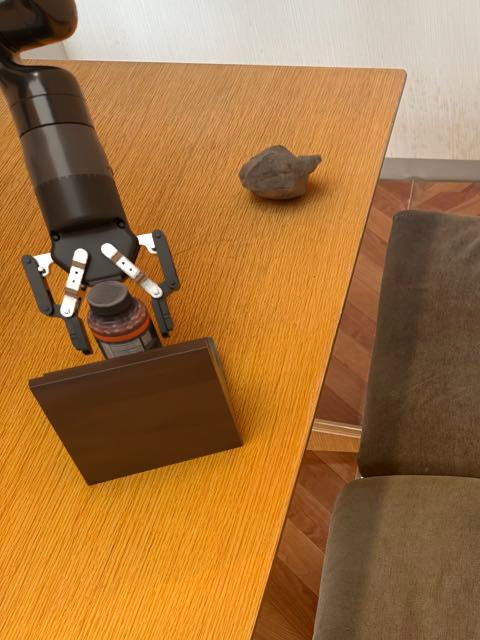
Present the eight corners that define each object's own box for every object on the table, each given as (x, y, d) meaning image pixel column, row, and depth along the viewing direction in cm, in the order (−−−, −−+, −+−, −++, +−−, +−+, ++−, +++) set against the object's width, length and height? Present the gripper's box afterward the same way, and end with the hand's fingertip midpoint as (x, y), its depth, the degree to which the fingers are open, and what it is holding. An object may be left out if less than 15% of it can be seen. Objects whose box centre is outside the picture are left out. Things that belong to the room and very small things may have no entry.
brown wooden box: (75, 389, 101) (20, 288, 89) (219, 356, 104) (183, 255, 93) (88, 485, 93) (28, 388, 81) (243, 445, 96) (207, 347, 85)
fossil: (320, 172, 127) (309, 117, 121) (333, 207, 122) (323, 153, 116) (241, 186, 125) (226, 131, 118) (251, 223, 120) (236, 167, 113)
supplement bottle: (121, 358, 99) (81, 274, 90) (176, 355, 100) (142, 271, 91) (112, 396, 96) (69, 313, 87) (169, 393, 97) (133, 309, 87)
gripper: (-15, 186, 84) (46, 359, 87) (142, 158, 88) (195, 326, 91) (8, 205, 91) (63, 364, 94) (152, 179, 95) (201, 333, 98)
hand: (128, 345), depth 93 cm, fingers open, 7 cm apart
